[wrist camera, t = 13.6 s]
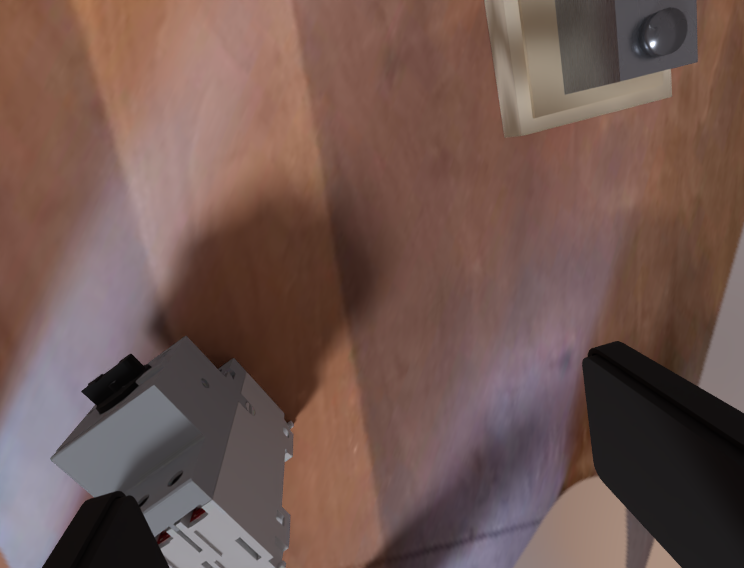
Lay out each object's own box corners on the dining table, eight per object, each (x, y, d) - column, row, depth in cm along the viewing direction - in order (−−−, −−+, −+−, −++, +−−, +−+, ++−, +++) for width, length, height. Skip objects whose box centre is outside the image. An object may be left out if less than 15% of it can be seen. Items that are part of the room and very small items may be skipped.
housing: (551, -32, 30) (619, -84, 24) (620, -48, 30) (706, -104, 24) (564, 94, 32) (629, 79, 26) (629, 78, 33) (709, 59, 26)
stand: (479, -34, 33) (498, -55, 29) (633, -70, 33) (668, -94, 30) (504, 137, 36) (524, 135, 33) (643, 101, 37) (676, 95, 34)
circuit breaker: (183, 301, 36) (103, 397, 22) (293, 423, 40) (288, 571, 26) (108, 356, 36) (-20, 485, 22) (226, 471, 40) (183, 642, 26)
